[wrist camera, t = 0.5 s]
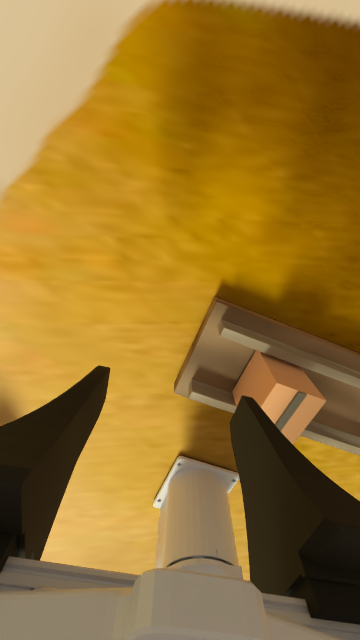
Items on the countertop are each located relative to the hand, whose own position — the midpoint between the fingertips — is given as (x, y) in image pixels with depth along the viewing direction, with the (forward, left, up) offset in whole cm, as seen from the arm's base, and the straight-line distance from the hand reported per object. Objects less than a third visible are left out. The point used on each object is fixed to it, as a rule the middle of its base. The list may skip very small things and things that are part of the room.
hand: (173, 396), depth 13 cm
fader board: (-2, -16, -11) cm, 19 cm away
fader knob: (-2, -9, -9) cm, 13 cm away
